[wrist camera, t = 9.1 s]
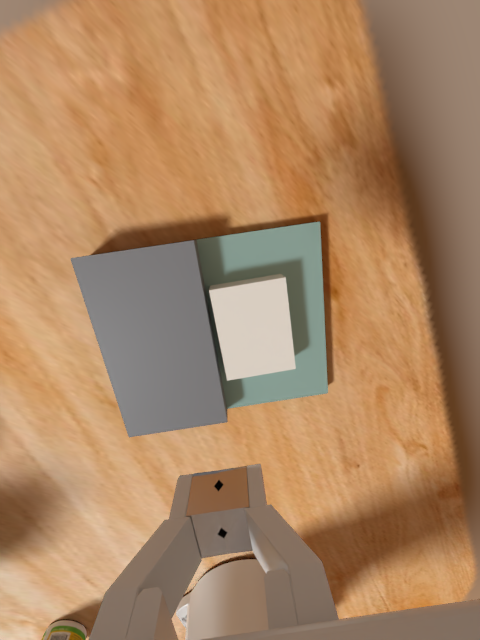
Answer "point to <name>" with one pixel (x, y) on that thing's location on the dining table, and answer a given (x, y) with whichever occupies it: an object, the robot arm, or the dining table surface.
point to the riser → (155, 335)
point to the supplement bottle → (65, 631)
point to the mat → (303, 296)
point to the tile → (253, 326)
